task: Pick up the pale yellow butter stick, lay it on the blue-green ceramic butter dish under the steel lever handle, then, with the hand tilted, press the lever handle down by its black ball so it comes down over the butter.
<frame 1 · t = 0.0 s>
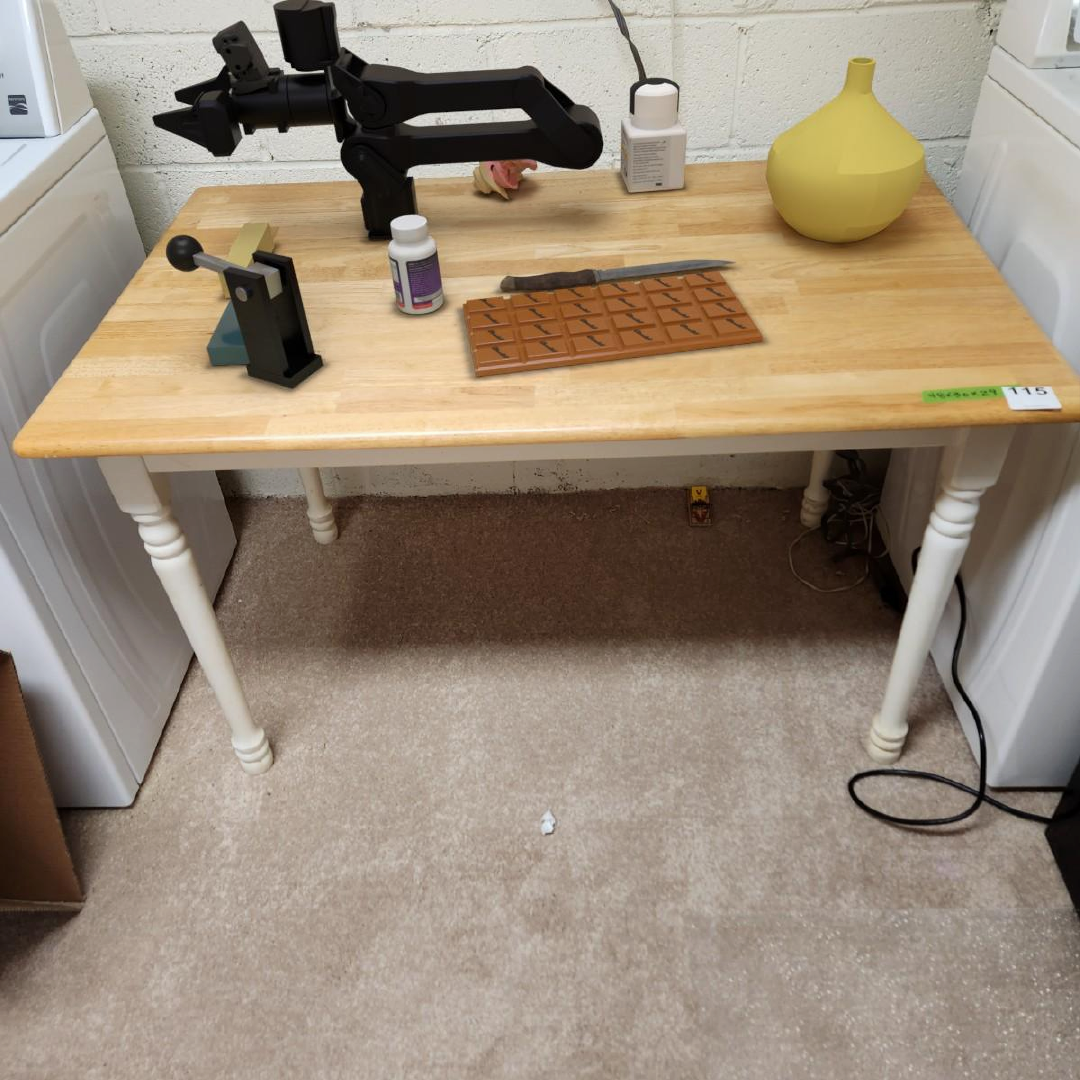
hand: (164, 108, 111), 17 cm above the table, tool horizontal, fingers open, 9 cm apart
butter dish: (250, 330, 103), on the table
vase: (833, 227, 116), on the table
lever handle: (221, 266, 91), point 11 cm above the table, hinge at 6.0°
knife: (618, 279, 108), on the table
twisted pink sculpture: (509, 190, 130), on the table
pill bottle: (420, 305, 106), on the table
container: (651, 182, 130), on the table
slicer stand: (286, 370, 96), on the table
butter: (251, 270, 114), on the table
chocolate bar: (606, 326, 100), on the table
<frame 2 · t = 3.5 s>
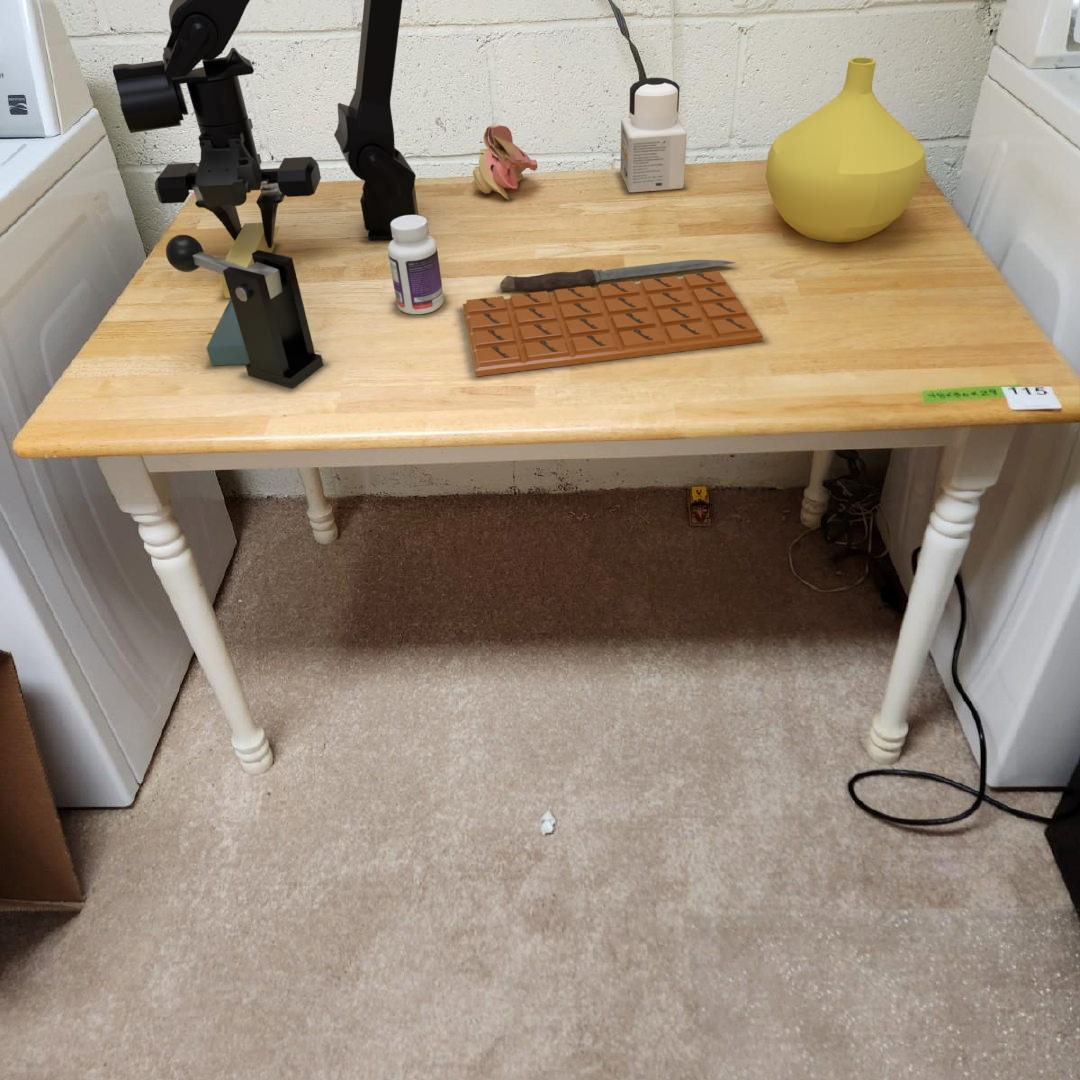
hand: (256, 247, 117), 1 cm above the table, tool pointing down, fingers closed on butter, 3 cm apart
butter: (251, 270, 114), on the table, touching gripper
everything else where it was.
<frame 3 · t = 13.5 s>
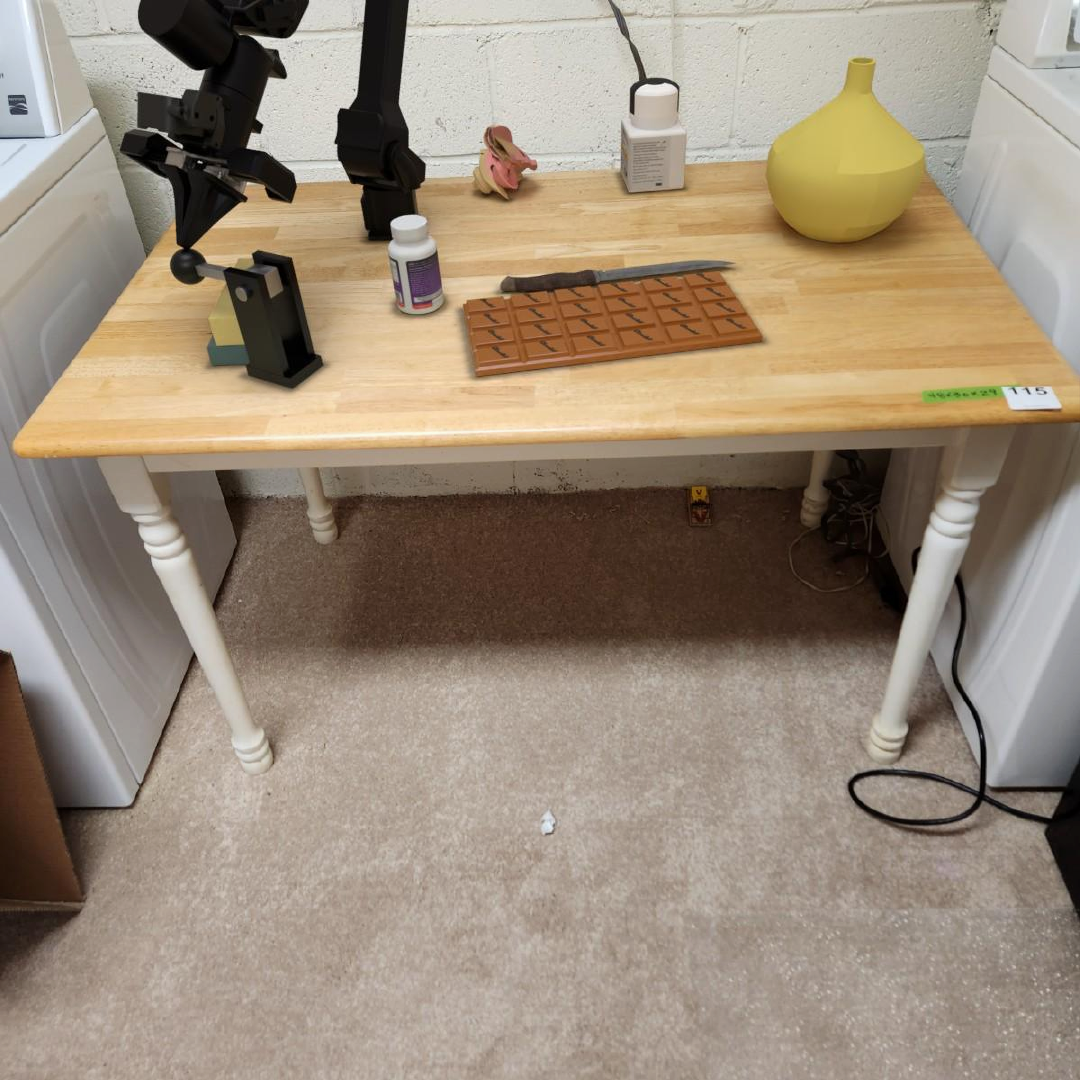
hand: (182, 247, 92), 12 cm above the table, tool tilted 45°, fingers closed
lever handle: (223, 273, 92), point 10 cm above the table, hinge at -2.1°, touching gripper
butter: (246, 313, 101), point 2 cm above the table, touching butter dish
everything else where it was.
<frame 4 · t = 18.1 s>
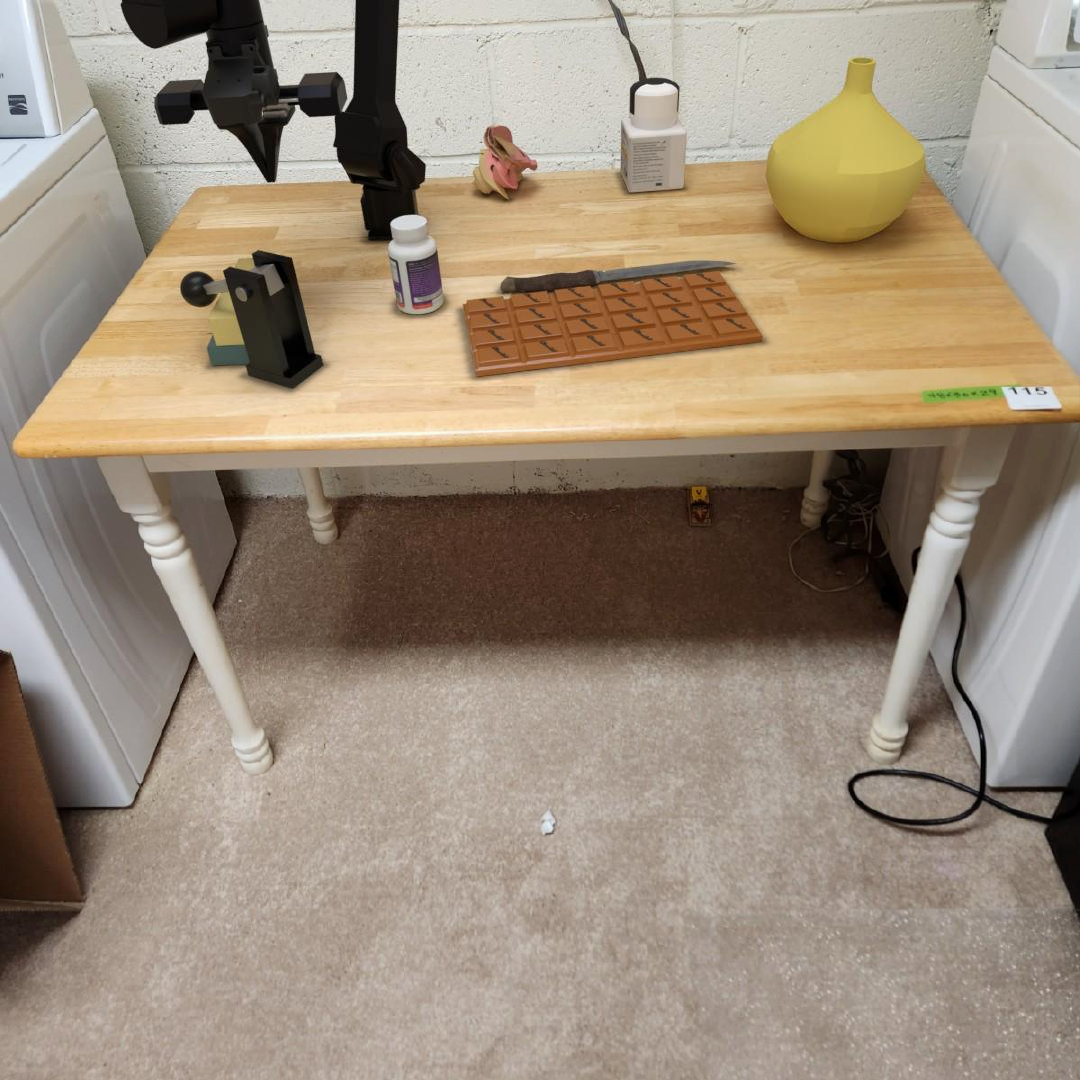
hand: (272, 181, 101), 13 cm above the table, tool pointing down, fingers closed
lever handle: (228, 285, 92), point 9 cm above the table, hinge at -16.3°
everything else where it was.
at the end: butter inside the target area on the butter dish (0.1 cm from its centre), point 2.2 cm above the butter dish's base; lever handle at -16° (first picture: +6°) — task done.
